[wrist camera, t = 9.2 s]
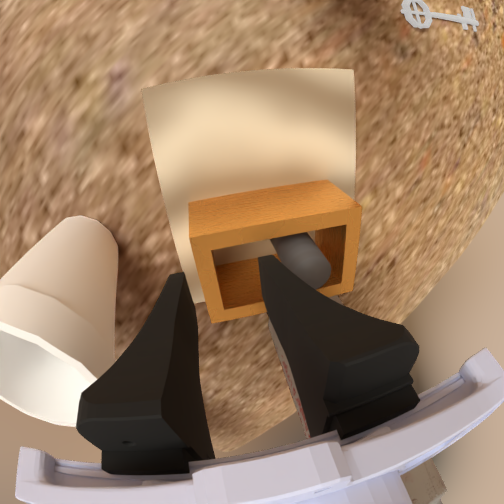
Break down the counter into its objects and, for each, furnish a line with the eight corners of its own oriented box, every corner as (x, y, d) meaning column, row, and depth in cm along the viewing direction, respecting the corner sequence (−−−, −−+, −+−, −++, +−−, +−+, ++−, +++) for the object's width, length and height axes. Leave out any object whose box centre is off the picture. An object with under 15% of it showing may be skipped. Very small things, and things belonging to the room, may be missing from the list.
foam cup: (31, 193, 17) (-66, 302, 6) (138, 200, 20) (94, 336, 9) (46, 290, 22) (1, 408, 11) (137, 300, 24) (124, 435, 14)
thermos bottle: (275, 349, 32) (357, 583, 8) (260, 301, 27) (368, 606, 4) (340, 326, 32) (447, 540, 9) (338, 275, 28) (489, 539, 4)
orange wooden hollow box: (205, 278, 23) (211, 323, 19) (188, 202, 19) (188, 238, 15) (325, 253, 24) (352, 290, 20) (327, 179, 20) (362, 206, 16)
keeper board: (341, 260, 27) (381, 314, 20) (191, 292, 25) (197, 360, 19) (343, 69, 17) (409, 71, 11) (144, 89, 16) (117, 89, 10)
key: (392, -6, 14) (402, 28, 16) (399, -7, 13) (410, 27, 15) (470, 9, 14) (476, 36, 16) (476, 9, 13) (483, 36, 15)
